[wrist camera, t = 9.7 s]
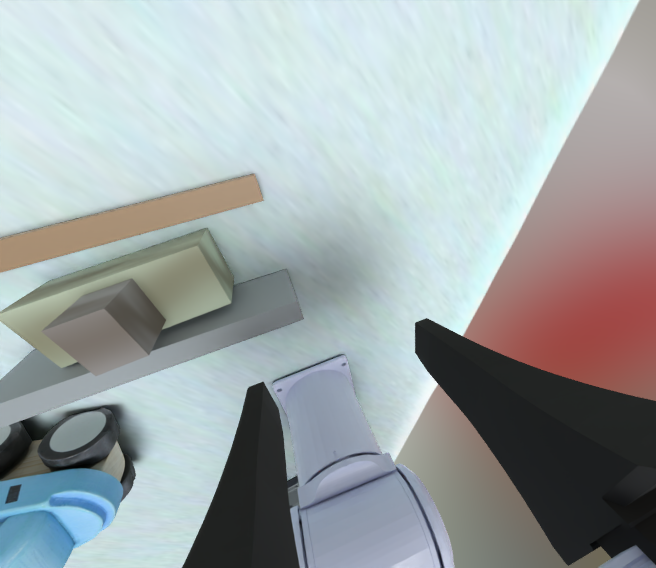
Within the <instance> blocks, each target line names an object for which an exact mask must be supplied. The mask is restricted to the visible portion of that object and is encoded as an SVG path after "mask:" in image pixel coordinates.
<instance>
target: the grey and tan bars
mask: <svg viewBox="0 0 656 568" xmlns="http://www.w3.org/2000/svg"><path fill="white" fill-rule="evenodd" d="M260 201H264V200H263V197H262V194H261V191H260V188H259V185H258V182H257V179H256V176H255V174H250V175H247V176H243V177H239V178H235V179H231V180H227V181H223V182H219V183H215V184H211V185H207V186H203V187H199V188H195V189H191V190H187V191H184V192H180V193H176V194H172V195H168V196H164V197H160V198H156V199H152V200H148V201H144V202H140V203H136V204H132V205H128V206H124V207H121V208H117V209H113V210H109V211H105V212H101V213H97V214H93V215H89V216H85V217H81V218H77V219H73V220H69V221H65V222H61V223H58V224H54V225H50V226H46V227H42V228H38V229H34V230H30V231H26V232H22V233H18V234H14V235H10V236H6V237H2V238H0V272H4V271H8V270H11V269H15V268H19V267H22V266H26V265H30V264H33V263H37V262H41V261H44V260H48V259H52V258H55V257H59V256H63V255H66V254H70V253H74V252H77V251H81V250H85V249H88V248H92V247H96V246H99V245H103V244H107V243H110V242H114V241H118V240H121V239H125V238H129V237H132V236H136V235H140V234H143V233H147V232H151V231H154V230H158V229H162V228H165V227H169V226H173V225H176V224H180V223H184V222H187V221H191V220H195V219H198V218H202V217H206V216H209V215H213V214H217V213H220V212H224V211H228V210H231V209H235V208H238V207H242V206H246V205H249V204H253V203H257V202H260ZM303 319H304V318H303V315H302V312H301V309H300V306H299V303H298V300H297V297H296V294H295V292H294V289H293V286H292V283H291V281H290V278H289V275H288V272H287V269H285V270H281V271H278V272H275V273H272V274H269V275H266V276H263V277H260V278H257V279H254V280H250V281H247V282H244V283H241V284H238V285H235V286H233V293H232V303H231V304H228V305H226V306H223V307H220V308H218V309H215V310H212V311H210V312H207V313H205V314H202V315H199V316H197V317H194V318H192V319H189V320H186V321H184V322H181V323H178V324H176V325H173V326H171V327H168V328H165V329H163V330H161V332H160V334H159V336H158V338H157V340H156V342H155V344H154V346H153V349H152V351H151V353H150V355H149V356H147V357H144V358H141V359H139V360H136V361H134V362H131V363H129V364H126V365H124V366H121V367H119V368H116V369H113V370H111V371H108V372H106V373H103V374H101V375H98V376H95V375H93V374H92V373H91V372H90V371H88V370H87V369H86V368H85V367H84V366H82V365H81V364H80V363H79V362H76V363H74V364H71V365H69V366H66V367H63V368H60V367H59V366H58V365H57V364H55V363H54V362H53V361H51V360H50V359H49V358H47V357H46V356H45V355H44V354H42V353H41V352H40V351H38V350H37V349H36V350H33V351H32V352H31V353H30V354H28V355H27V356H26V357H25V358H24V359H23V360H22V361H21V362H20V363H19V364H17V365H16V366H15V367H14V368H13V369H12V370H11V371H10V372H9V373H8V374H6V375H5V376H4V377H3V378H2V379H1V380H0V428H2V427H5V426H8V425H11V424H13V423H16V422H19V421H22V420H24V419H27V418H30V417H33V416H36V415H38V414H41V413H44V412H47V411H50V410H52V409H55V408H58V407H61V406H63V405H66V404H69V403H72V402H75V401H77V400H80V399H83V398H86V397H89V396H91V395H94V394H97V393H100V392H102V391H105V390H108V389H111V388H114V387H116V386H119V385H122V384H125V383H127V382H130V381H133V380H136V379H139V378H141V377H144V376H147V375H150V374H153V373H155V372H158V371H161V370H164V369H166V368H169V367H172V366H175V365H178V364H180V363H183V362H186V361H189V360H192V359H194V358H197V357H200V356H203V355H205V354H208V353H211V352H214V351H217V350H219V349H222V348H225V347H228V346H230V345H233V344H236V343H239V342H242V341H244V340H247V339H250V338H253V337H256V336H258V335H261V334H264V333H267V332H269V331H272V330H275V329H278V328H281V327H283V326H286V325H289V324H292V323H295V322H297V321H300V320H303Z"/></svg>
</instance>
